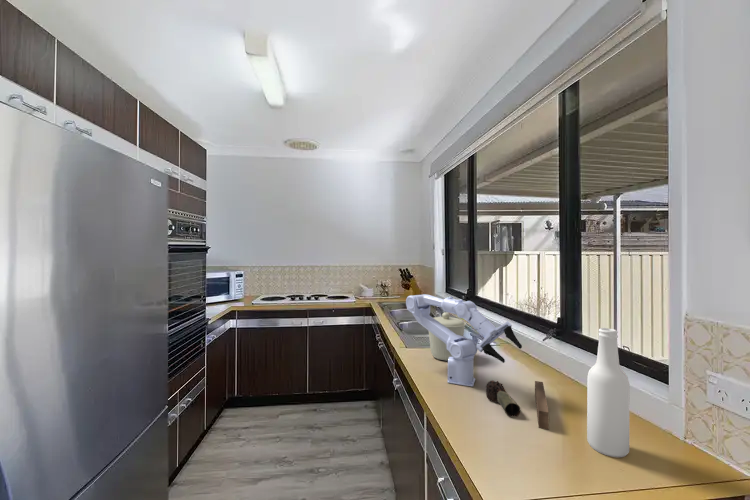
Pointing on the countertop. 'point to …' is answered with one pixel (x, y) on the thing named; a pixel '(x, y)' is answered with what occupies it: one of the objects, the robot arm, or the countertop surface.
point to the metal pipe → (502, 398)
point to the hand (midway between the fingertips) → (512, 354)
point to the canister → (438, 345)
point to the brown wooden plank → (541, 406)
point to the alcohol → (608, 399)
